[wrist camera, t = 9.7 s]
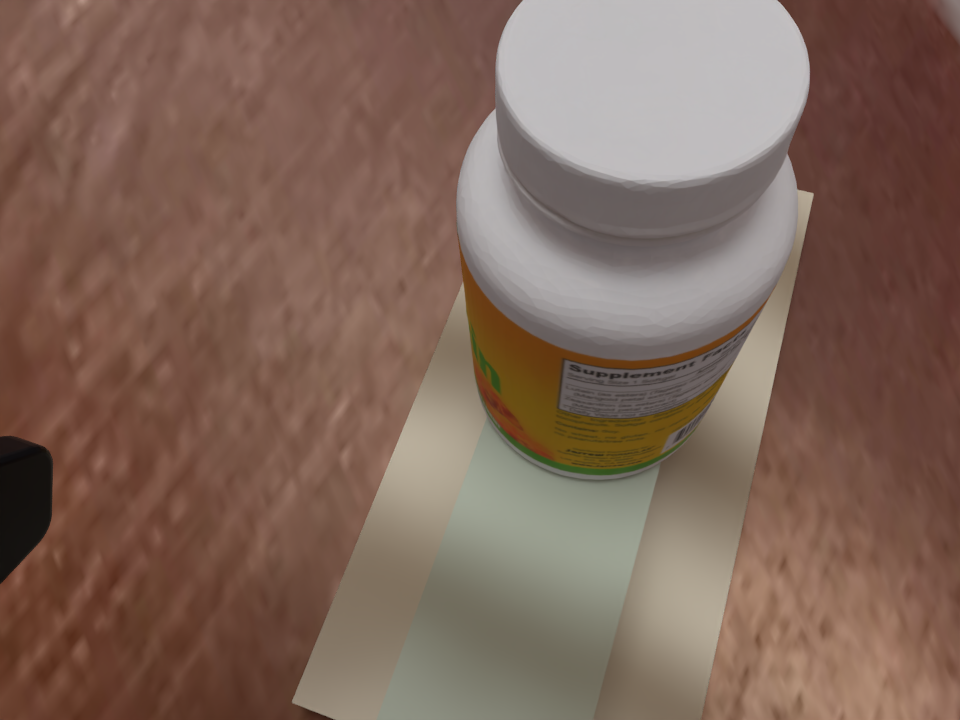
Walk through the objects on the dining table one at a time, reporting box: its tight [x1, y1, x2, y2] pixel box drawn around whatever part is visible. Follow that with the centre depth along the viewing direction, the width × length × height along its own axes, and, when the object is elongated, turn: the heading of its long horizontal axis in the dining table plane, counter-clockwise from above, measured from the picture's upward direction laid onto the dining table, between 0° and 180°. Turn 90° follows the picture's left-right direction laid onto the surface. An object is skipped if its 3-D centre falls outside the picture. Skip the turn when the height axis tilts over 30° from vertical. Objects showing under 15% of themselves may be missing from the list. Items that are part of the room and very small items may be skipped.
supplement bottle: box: [456, 0, 810, 480], centre depth 15 cm, size 5×5×10 cm
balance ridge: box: [292, 190, 814, 720], centre depth 21 cm, size 18×9×4 cm, turn 161°
